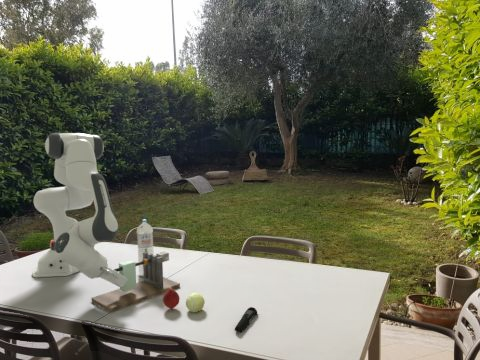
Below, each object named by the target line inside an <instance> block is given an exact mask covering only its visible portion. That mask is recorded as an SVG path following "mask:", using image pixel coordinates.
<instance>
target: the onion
mask: <svg viewBox="0 0 480 360" xmlns="http://www.w3.org/2000/svg"><path fill="white" fill-rule="evenodd" d="M180 299H181V298H180V295H179V293H178V292H177V290H176V289H172V288H171V287H170V288H169V290H168V291H167V292H165V293H163V297H162V303H163V304H164V306H165V307H166V308H167V309H169V310H174V308H176V307H177V306H178V305H179V303H180Z"/></svg>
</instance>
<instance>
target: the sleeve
mask: <svg viewBox="0 0 480 360" xmlns="http://www.w3.org/2000/svg"><path fill="white" fill-rule="evenodd" d="M135 263H136V261H134V260H131V259H130V260H126V261H122V262H119V263H118V268H120V267H123V270H122V271H118V273H120V274H121V275H123V276H124V277H126V278H127V279H128V281H127V283H126V284H125V286H124V287H123V288H121V287H119V289H120V290H122V291H124V292H126V291H129V290H132V289H135V288H137V287H136V283H137V268H136V267H137V266H135Z"/></svg>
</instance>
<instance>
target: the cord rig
mask: <svg viewBox="0 0 480 360" xmlns="http://www.w3.org/2000/svg"><path fill="white" fill-rule="evenodd" d="M169 255H170V253H169V251H162V252H157V253H155V254H154V255H153V254H151V253H150V254H148V252H144V253H143V260H142V261H141V262H138V261H137V262H135V266H136V267H139V265H142V264H143V271H144V277H143V280H142V281H139V282H136V287H137V288H135V289H132V290H129V291H126V292H124V291H122V290H120V288H117V289H115V290H111V291H108V292H105V293H102V294H98V295H96V296H93V297H91V299H90V300H91V303H93V304H95V305H96V306H98V307H100V308H102V309H103V310H105V311H107V312H108V313H110V314H111V313H114V312H116V311H119V310H122V309H124V308H128V307H129V306H133V305H136V304H137V303H138V304H139V303H140V302H143V301H146V300H148V299H151V298H152V299H153V298H155V297H157V296H160V295H162V294H163V295H164V294H165V293H166V292H167V291H168V290H169V288H170V287H171V288H172V289H173V290H176V289H180V287H181V283H179V282H176V281H175V280H171V279H169V278H166V277H164V272H163V271H164V267H163V263H165V262H168V261H170V256H169ZM114 270H115V271H117V272H118V273H119V271H122V270H123V267H120V268H119V267H118V268H114Z"/></svg>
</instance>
